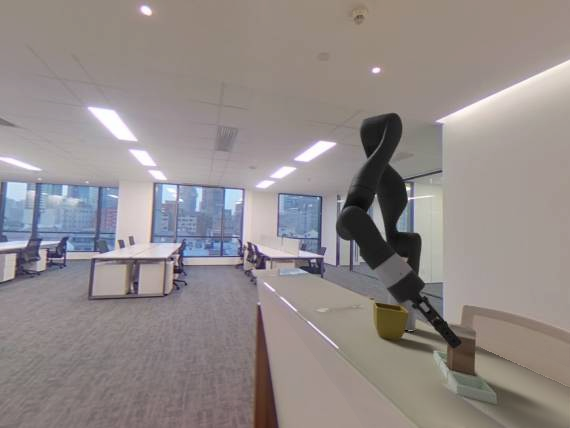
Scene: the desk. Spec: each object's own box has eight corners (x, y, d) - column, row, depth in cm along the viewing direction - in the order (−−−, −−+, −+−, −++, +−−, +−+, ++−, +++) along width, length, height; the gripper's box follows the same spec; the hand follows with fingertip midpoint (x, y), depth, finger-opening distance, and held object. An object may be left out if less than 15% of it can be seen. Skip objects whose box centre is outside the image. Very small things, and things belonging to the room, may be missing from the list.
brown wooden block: (446, 369, 59) (448, 322, 60) (467, 374, 57) (469, 326, 58) (451, 377, 55) (453, 327, 56) (474, 383, 54) (475, 331, 55)
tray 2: (439, 369, 60) (440, 359, 60) (471, 376, 58) (471, 366, 58) (446, 381, 54) (447, 370, 54) (481, 389, 52) (482, 378, 52)
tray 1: (433, 358, 66) (433, 350, 66) (461, 365, 64) (461, 356, 64) (439, 368, 60) (439, 359, 60) (470, 375, 58) (470, 365, 59)
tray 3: (447, 382, 54) (448, 371, 54) (482, 390, 52) (483, 379, 52) (456, 397, 48) (457, 385, 48) (496, 407, 46) (496, 394, 46)
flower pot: (407, 345, 74) (409, 312, 75) (374, 339, 76) (376, 307, 77) (400, 336, 82) (402, 306, 83) (370, 330, 84) (372, 301, 85)
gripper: (415, 268, 55) (479, 338, 50) (407, 266, 69) (456, 321, 64) (386, 290, 56) (445, 361, 51) (383, 284, 70) (430, 339, 65)
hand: (451, 339), depth 57 cm, fingers open, 8 cm apart
